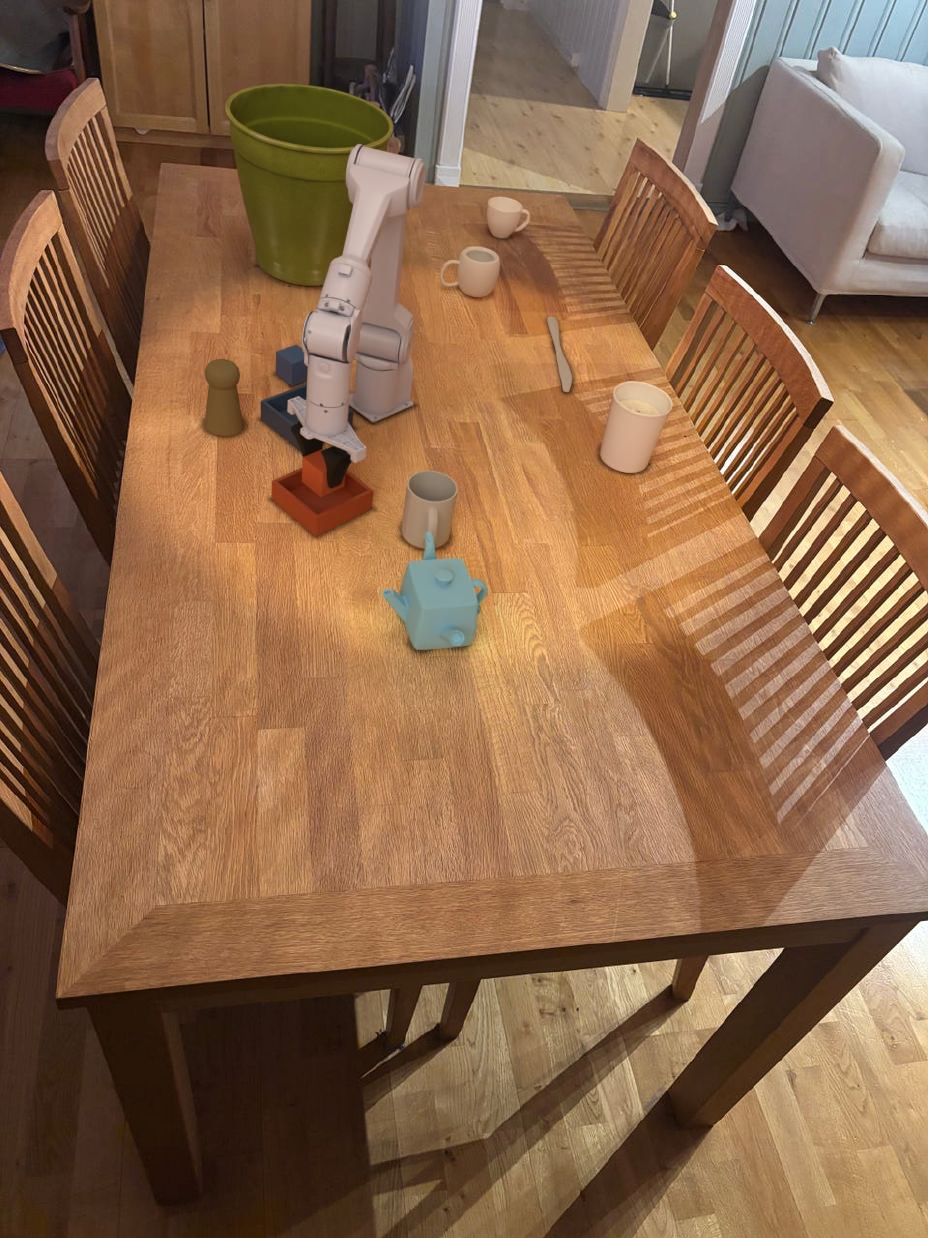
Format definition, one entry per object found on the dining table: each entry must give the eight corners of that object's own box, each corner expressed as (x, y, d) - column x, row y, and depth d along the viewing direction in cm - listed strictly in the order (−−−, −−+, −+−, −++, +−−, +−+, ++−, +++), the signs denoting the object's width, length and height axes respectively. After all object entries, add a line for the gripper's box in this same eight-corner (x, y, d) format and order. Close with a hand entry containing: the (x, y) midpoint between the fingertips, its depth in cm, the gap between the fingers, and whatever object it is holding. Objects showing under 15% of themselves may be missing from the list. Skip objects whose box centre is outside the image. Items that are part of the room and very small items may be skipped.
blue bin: (312, 398, 162) (313, 380, 160) (352, 428, 158) (353, 410, 156) (260, 419, 156) (260, 400, 154) (300, 451, 152) (301, 432, 150)
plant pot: (211, 235, 197) (206, 82, 177) (349, 228, 209) (359, 84, 188) (254, 309, 180) (253, 149, 159) (402, 296, 191) (418, 146, 171)
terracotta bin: (327, 473, 149) (328, 455, 147) (371, 508, 145) (373, 490, 142) (271, 499, 143) (271, 480, 140) (316, 536, 139) (317, 518, 136)
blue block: (295, 366, 168) (296, 344, 165) (312, 378, 167) (313, 356, 163) (275, 374, 166) (275, 351, 163) (291, 386, 164) (292, 363, 161)
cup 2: (480, 224, 220) (485, 195, 215) (522, 228, 222) (528, 198, 217) (486, 240, 214) (491, 210, 210) (529, 243, 217) (535, 214, 212)
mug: (489, 281, 201) (495, 244, 196) (499, 302, 196) (506, 265, 190) (433, 279, 198) (438, 242, 192) (441, 300, 192) (447, 262, 187)
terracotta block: (324, 471, 143) (326, 446, 140) (344, 486, 142) (346, 462, 138) (301, 481, 141) (302, 457, 138) (321, 497, 139) (322, 473, 136)
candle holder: (658, 454, 166) (680, 394, 158) (642, 483, 159) (663, 422, 151) (605, 434, 168) (624, 373, 160) (587, 462, 161) (605, 400, 153)
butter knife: (561, 316, 194) (546, 313, 193) (575, 393, 175) (559, 390, 175) (560, 319, 194) (546, 316, 194) (574, 395, 176) (558, 393, 175)
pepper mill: (235, 439, 152) (234, 378, 144) (198, 430, 152) (195, 369, 144) (249, 419, 156) (248, 358, 148) (213, 410, 156) (210, 349, 148)
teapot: (496, 674, 126) (510, 620, 118) (390, 684, 122) (398, 629, 115) (462, 578, 137) (473, 523, 130) (364, 584, 133) (370, 529, 126)
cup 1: (447, 519, 146) (456, 472, 139) (452, 565, 139) (461, 517, 133) (399, 516, 145) (406, 468, 138) (401, 562, 138) (408, 513, 131)
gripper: (270, 379, 131) (269, 460, 141) (340, 432, 125) (335, 513, 135) (311, 364, 135) (307, 444, 145) (381, 414, 129) (372, 494, 139)
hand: (323, 476), depth 140 cm, fingers closed on terracotta block, 4 cm apart
